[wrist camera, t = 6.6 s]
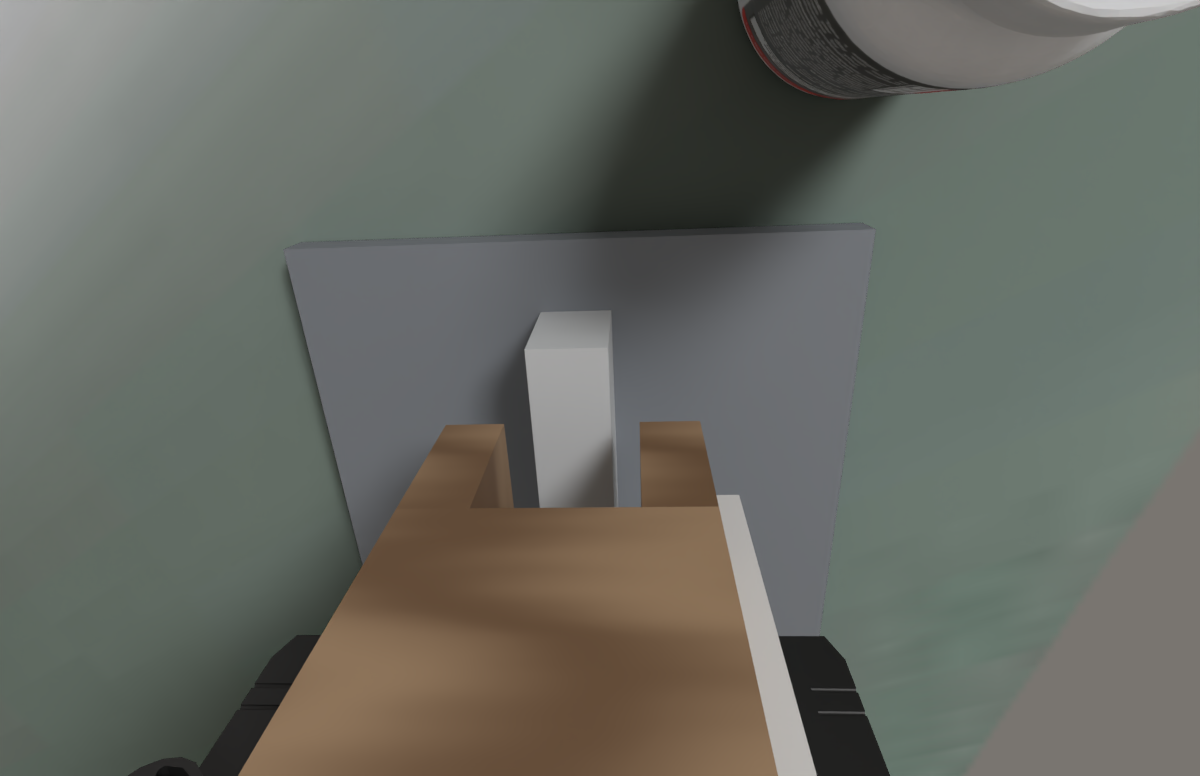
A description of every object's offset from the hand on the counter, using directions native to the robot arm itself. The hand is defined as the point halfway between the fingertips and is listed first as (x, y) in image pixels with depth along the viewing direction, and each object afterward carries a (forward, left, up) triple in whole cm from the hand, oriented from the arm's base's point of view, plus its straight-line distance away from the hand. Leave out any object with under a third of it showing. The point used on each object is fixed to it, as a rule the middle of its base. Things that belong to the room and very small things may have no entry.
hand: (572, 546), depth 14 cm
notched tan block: (0, 0, -1) cm, 1 cm away
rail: (0, -5, -6) cm, 8 cm away
